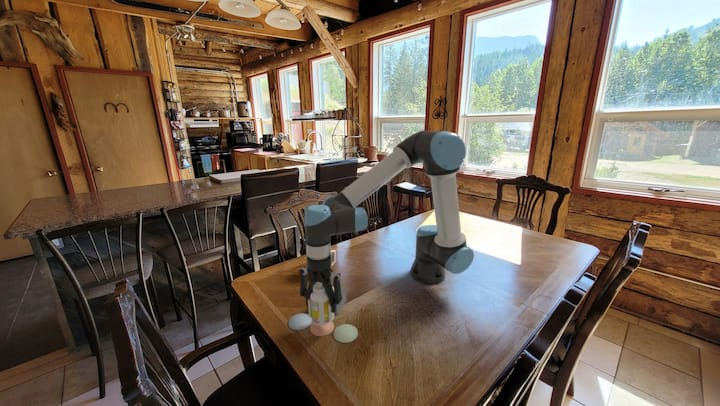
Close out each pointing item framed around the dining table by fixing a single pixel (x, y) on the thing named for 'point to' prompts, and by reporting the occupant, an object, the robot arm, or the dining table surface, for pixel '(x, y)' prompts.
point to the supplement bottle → (319, 305)
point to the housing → (343, 293)
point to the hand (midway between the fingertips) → (321, 316)
